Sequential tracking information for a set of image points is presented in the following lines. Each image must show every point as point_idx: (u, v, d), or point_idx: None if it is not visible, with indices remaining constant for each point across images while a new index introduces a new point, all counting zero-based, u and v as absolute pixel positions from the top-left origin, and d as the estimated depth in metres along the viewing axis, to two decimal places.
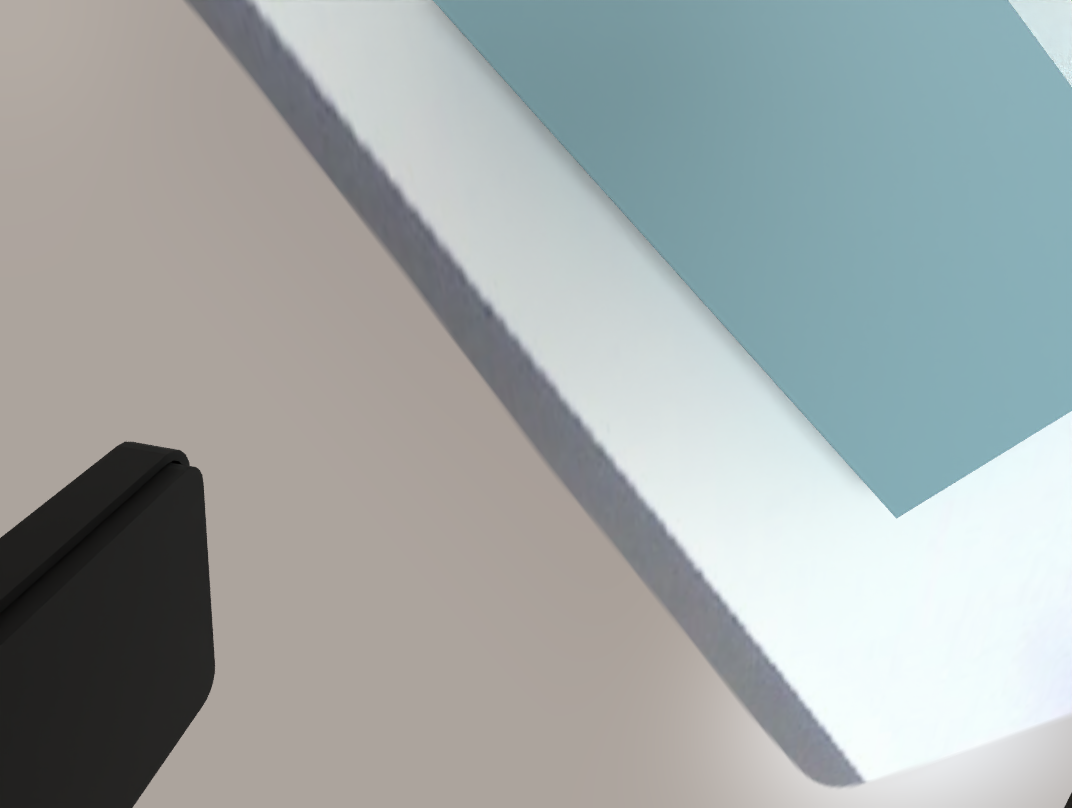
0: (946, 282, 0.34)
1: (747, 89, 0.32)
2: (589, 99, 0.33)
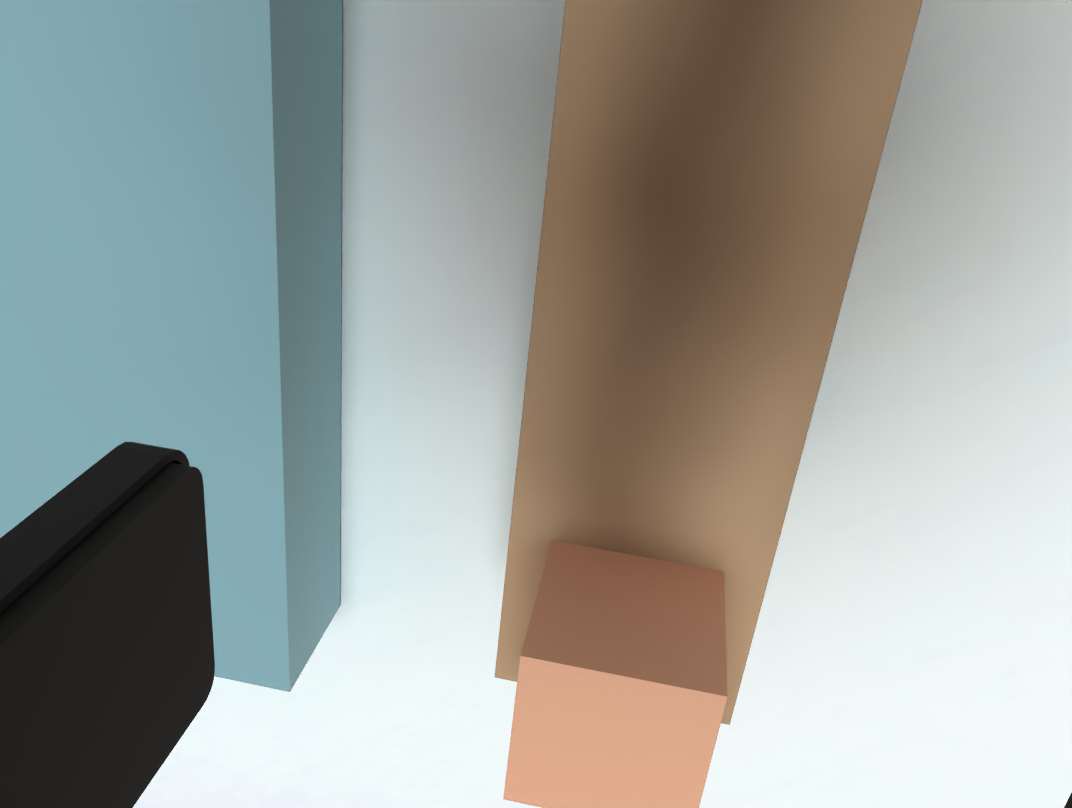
0: (36, 430, 0.24)
1: None
2: None
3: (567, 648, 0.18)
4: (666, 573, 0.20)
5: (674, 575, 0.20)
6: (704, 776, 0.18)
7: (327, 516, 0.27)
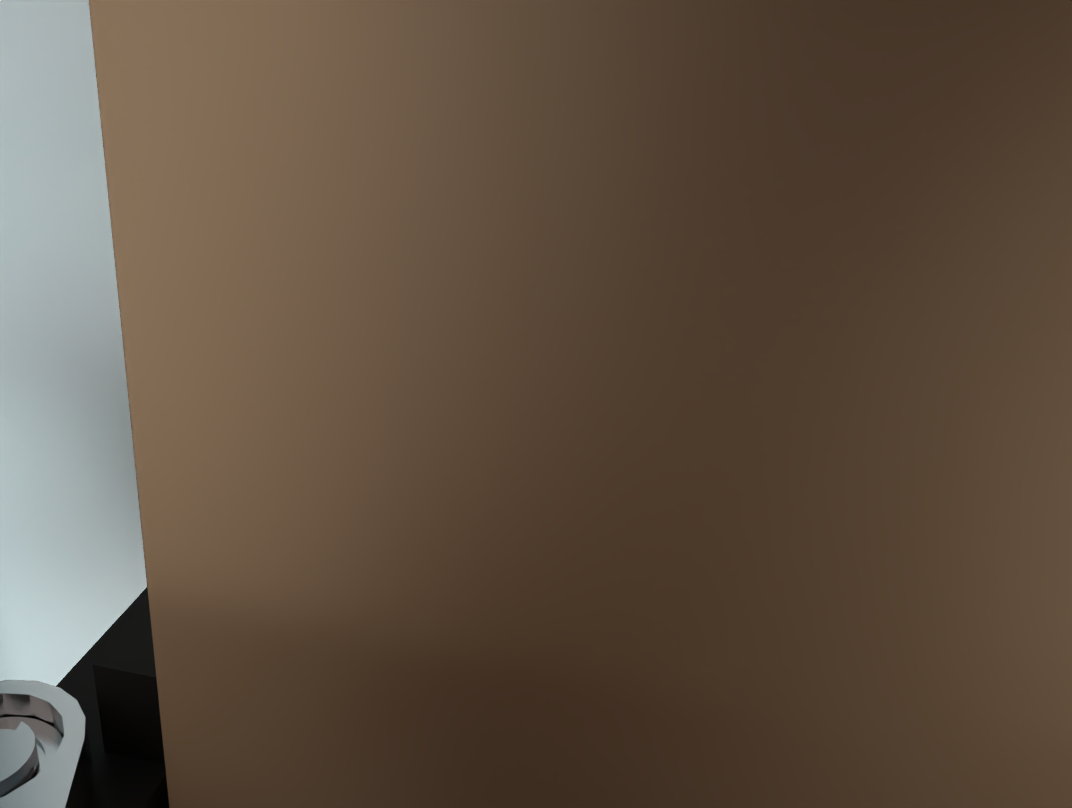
0: None
1: None
2: None
3: None
4: None
5: None
6: None
7: None
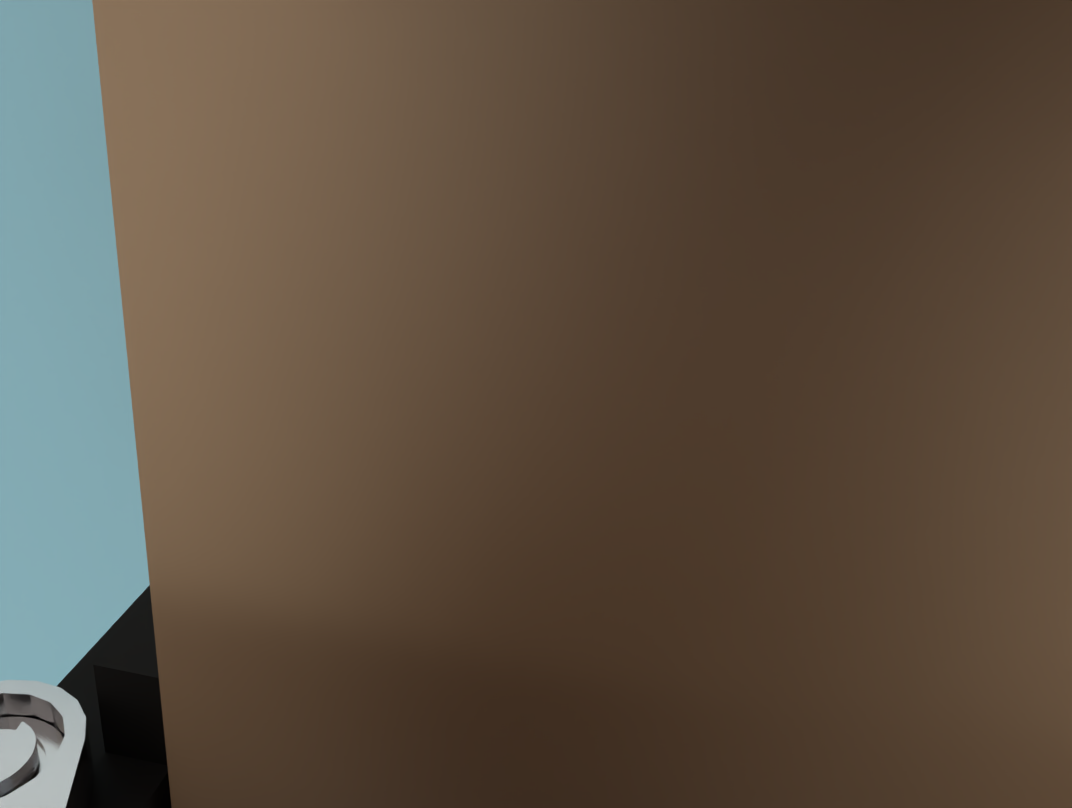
0: None
1: None
2: None
3: None
4: None
5: None
6: None
7: None
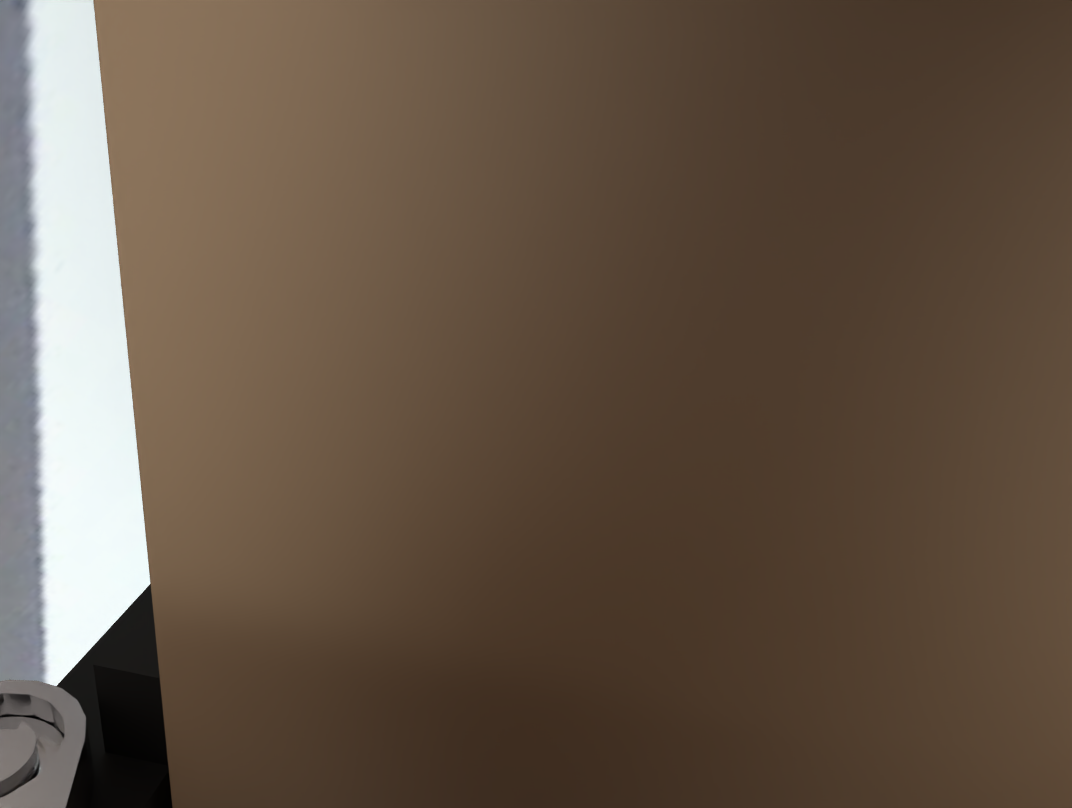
0: None
1: None
2: None
3: None
4: None
5: None
6: None
7: None
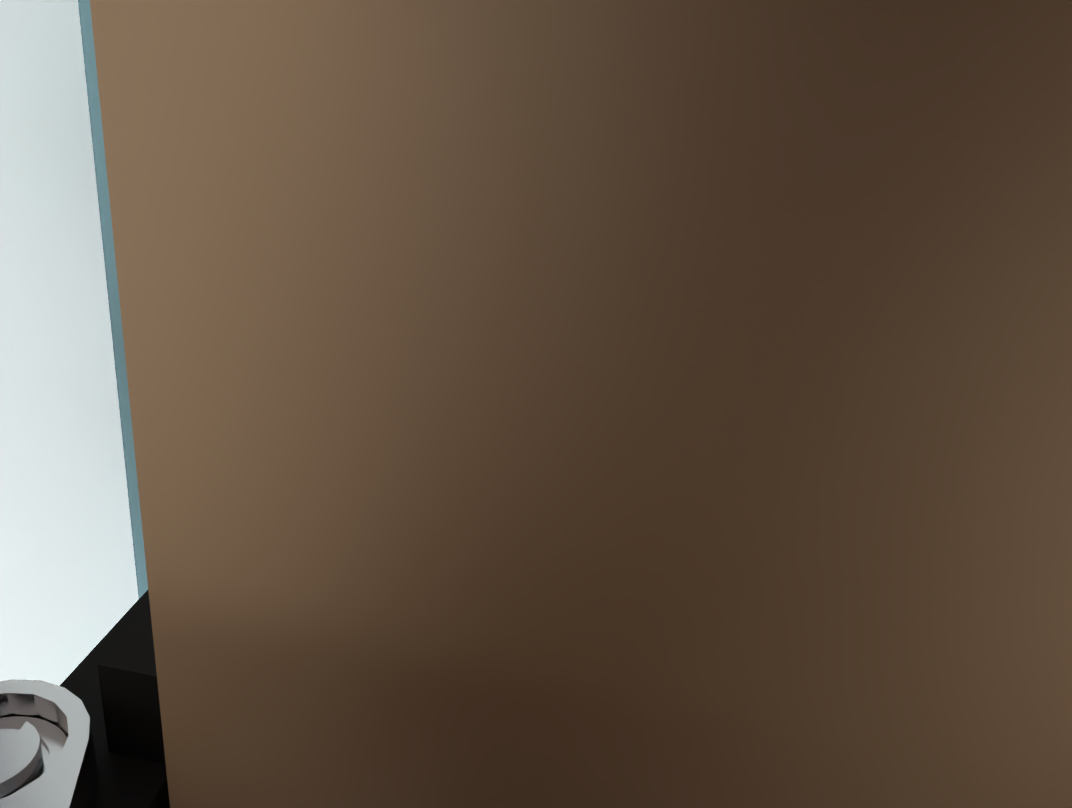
0: None
1: None
2: None
3: None
4: None
5: None
6: None
7: None
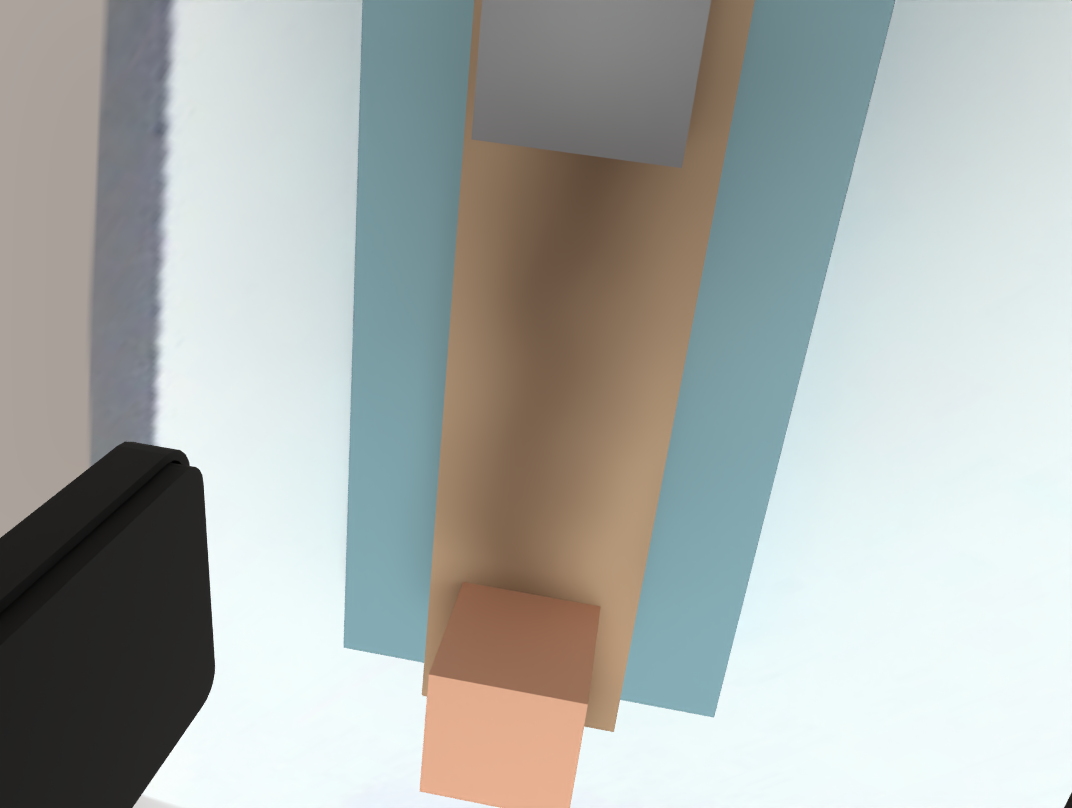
0: None
1: None
2: (424, 62, 0.25)
3: (467, 669, 0.23)
4: (553, 608, 0.26)
5: (559, 610, 0.26)
6: (574, 768, 0.23)
7: None
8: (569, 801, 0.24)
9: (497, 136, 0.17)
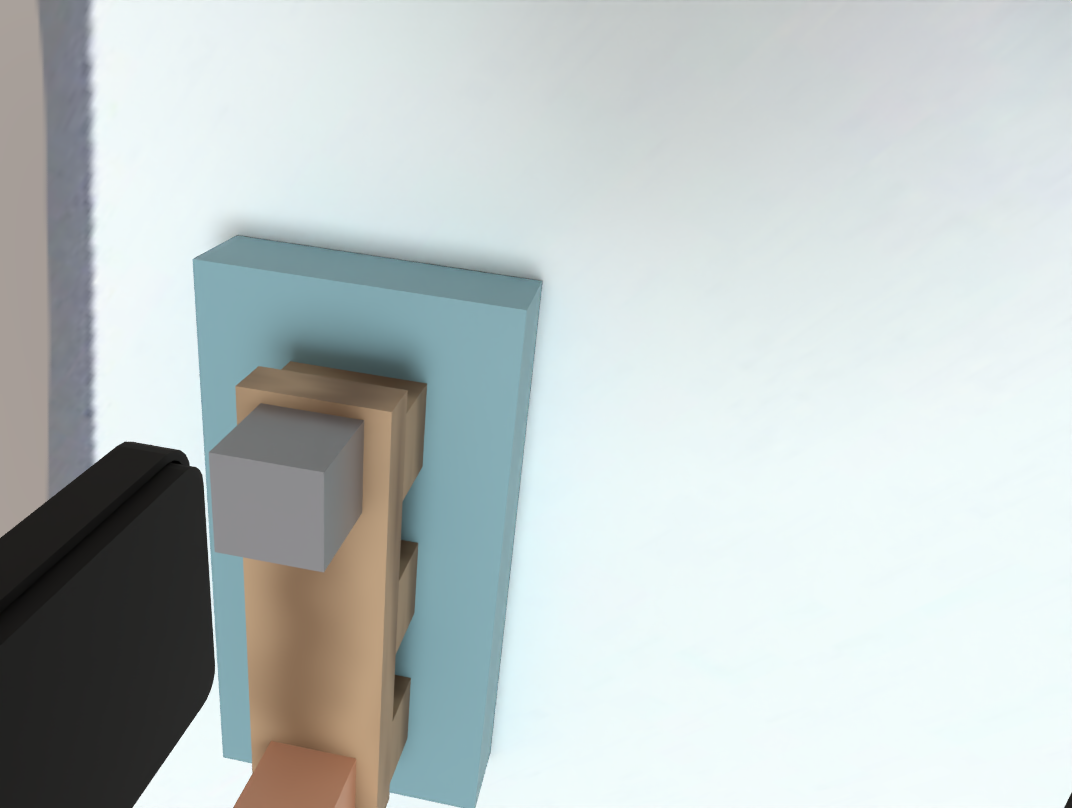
0: None
1: None
2: None
3: None
4: (324, 761, 0.40)
5: (328, 761, 0.40)
6: None
7: (492, 711, 0.49)
8: None
9: (227, 551, 0.32)
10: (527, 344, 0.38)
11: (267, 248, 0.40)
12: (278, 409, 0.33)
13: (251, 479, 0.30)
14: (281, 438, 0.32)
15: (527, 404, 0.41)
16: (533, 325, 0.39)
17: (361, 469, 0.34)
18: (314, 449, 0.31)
